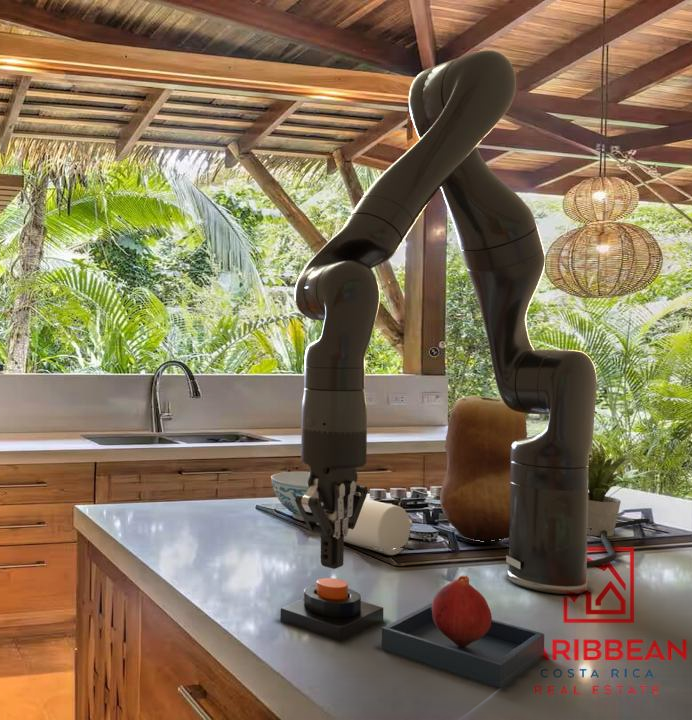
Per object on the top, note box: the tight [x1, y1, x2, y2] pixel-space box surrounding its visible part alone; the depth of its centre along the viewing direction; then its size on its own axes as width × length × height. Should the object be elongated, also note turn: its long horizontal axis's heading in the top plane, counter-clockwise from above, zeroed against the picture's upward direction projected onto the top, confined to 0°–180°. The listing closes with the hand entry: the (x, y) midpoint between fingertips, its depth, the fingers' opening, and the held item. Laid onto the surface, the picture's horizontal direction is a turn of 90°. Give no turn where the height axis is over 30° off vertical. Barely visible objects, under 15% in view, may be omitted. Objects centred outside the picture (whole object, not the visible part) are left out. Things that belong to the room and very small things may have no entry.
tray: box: [381, 602, 545, 689], centre depth 81 cm, size 12×12×2 cm
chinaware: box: [270, 471, 310, 522], centre depth 143 cm, size 15×15×8 cm
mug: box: [344, 498, 413, 556], centre depth 123 cm, size 12×10×8 cm
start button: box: [316, 577, 349, 600], centre depth 90 cm, size 4×4×2 cm
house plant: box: [587, 443, 648, 537], centre depth 130 cm, size 14×14×16 cm
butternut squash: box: [439, 395, 528, 544], centre depth 126 cm, size 14×13×25 cm
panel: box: [280, 584, 384, 643], centre depth 90 cm, size 10×8×4 cm
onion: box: [431, 574, 493, 647], centre depth 81 cm, size 6×6×8 cm
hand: (332, 566), depth 90 cm, fingers closed
